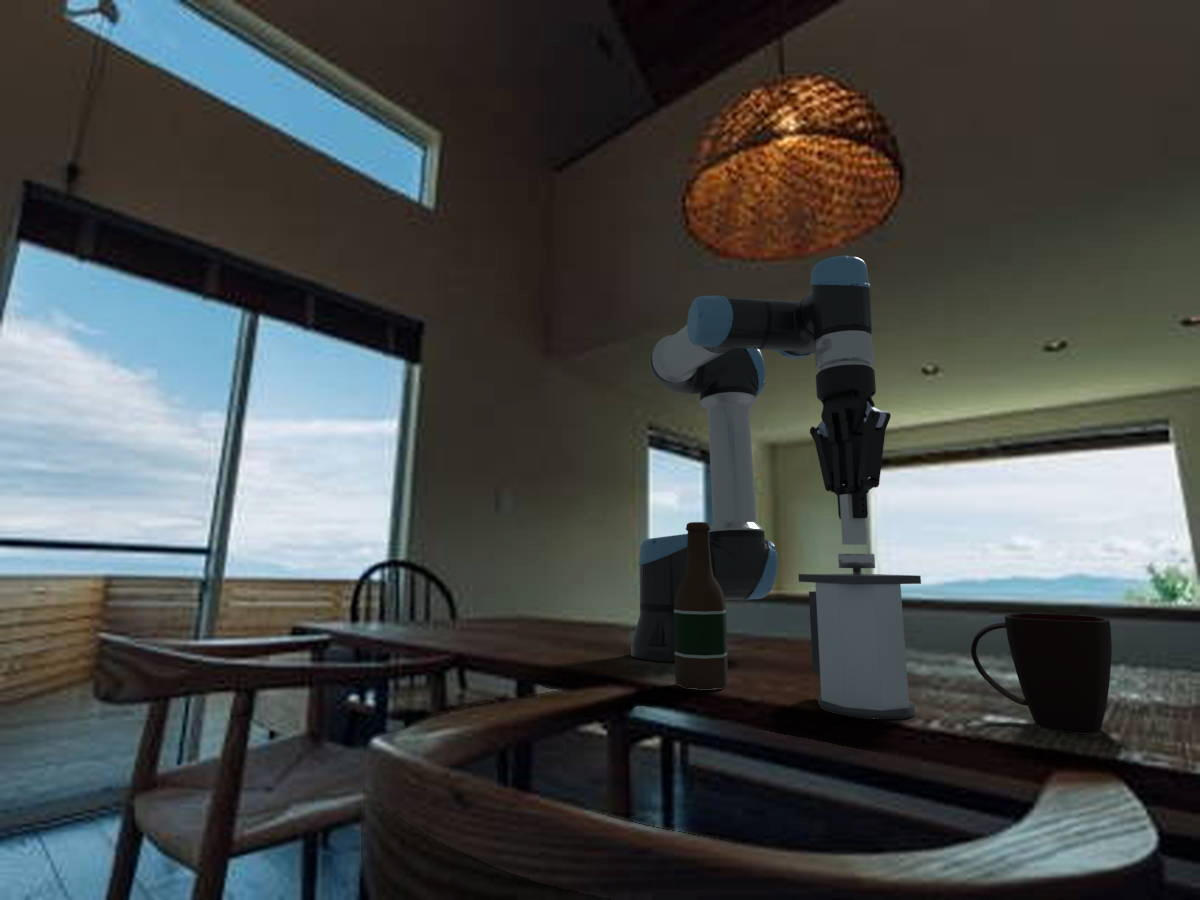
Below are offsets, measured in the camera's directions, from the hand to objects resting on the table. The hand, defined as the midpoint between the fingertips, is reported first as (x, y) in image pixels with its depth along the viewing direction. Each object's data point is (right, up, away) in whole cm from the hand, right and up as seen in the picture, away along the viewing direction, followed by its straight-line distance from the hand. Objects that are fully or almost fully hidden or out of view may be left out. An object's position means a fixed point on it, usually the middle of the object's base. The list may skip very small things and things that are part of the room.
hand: (854, 544), depth 85 cm
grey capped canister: (-1, -20, -2) cm, 20 cm away
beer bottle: (-18, -23, +11) cm, 31 cm away
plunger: (0, -10, -2) cm, 10 cm away
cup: (+18, -19, -11) cm, 28 cm away
